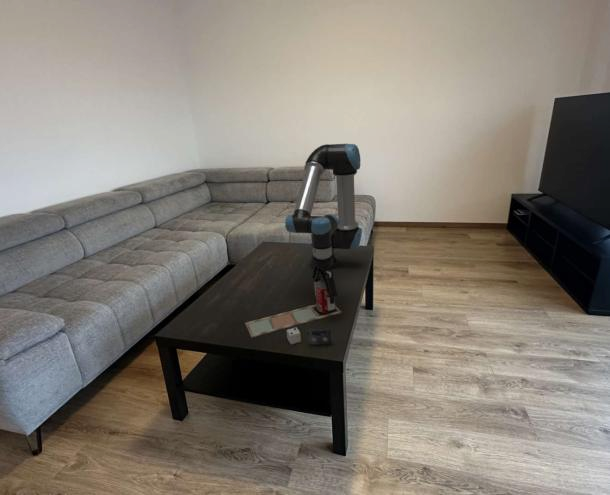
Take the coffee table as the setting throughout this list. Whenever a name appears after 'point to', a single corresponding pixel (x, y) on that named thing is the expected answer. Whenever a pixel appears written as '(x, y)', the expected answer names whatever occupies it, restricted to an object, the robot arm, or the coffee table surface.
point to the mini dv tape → (319, 336)
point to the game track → (284, 320)
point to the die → (293, 335)
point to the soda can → (322, 298)
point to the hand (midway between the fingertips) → (324, 301)
